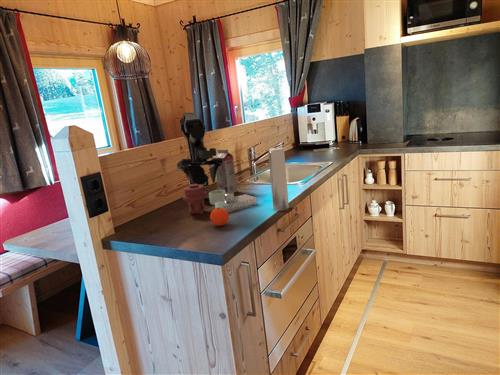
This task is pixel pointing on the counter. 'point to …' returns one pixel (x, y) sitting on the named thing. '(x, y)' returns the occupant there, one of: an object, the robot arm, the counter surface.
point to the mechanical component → (195, 198)
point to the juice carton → (226, 172)
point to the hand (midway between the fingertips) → (204, 183)
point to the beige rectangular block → (235, 202)
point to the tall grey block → (278, 179)
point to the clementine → (219, 216)
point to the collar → (216, 196)
